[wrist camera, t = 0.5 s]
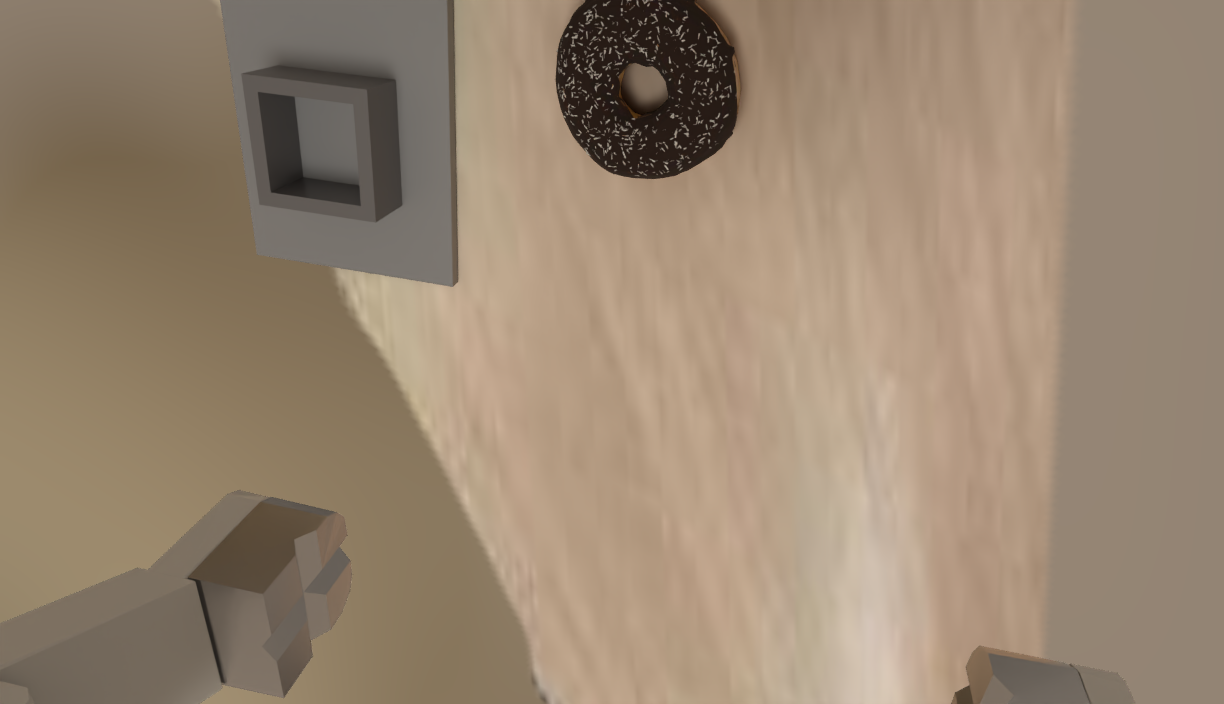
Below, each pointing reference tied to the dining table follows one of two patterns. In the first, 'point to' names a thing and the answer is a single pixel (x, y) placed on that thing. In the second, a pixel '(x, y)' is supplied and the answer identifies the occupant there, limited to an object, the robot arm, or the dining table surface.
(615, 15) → the donut
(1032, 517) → the dining table surface
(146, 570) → the robot arm
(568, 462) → the dining table surface
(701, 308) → the dining table surface
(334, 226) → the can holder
